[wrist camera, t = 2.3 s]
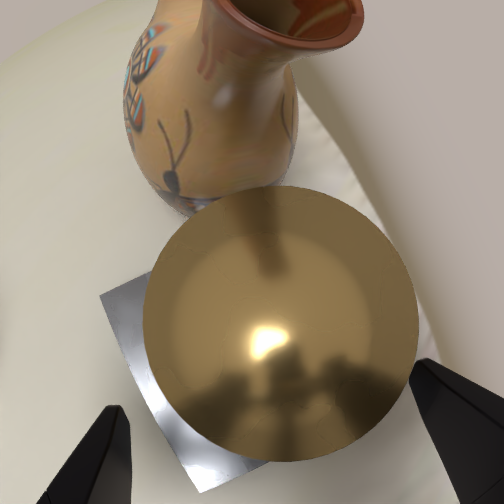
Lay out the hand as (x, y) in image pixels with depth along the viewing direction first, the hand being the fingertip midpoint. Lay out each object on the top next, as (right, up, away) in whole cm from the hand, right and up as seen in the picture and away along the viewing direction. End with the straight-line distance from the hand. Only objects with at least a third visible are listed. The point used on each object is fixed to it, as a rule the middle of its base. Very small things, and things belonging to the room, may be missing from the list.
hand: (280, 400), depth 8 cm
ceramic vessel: (-4, +9, +14) cm, 18 cm away
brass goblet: (-1, -2, +10) cm, 10 cm away
